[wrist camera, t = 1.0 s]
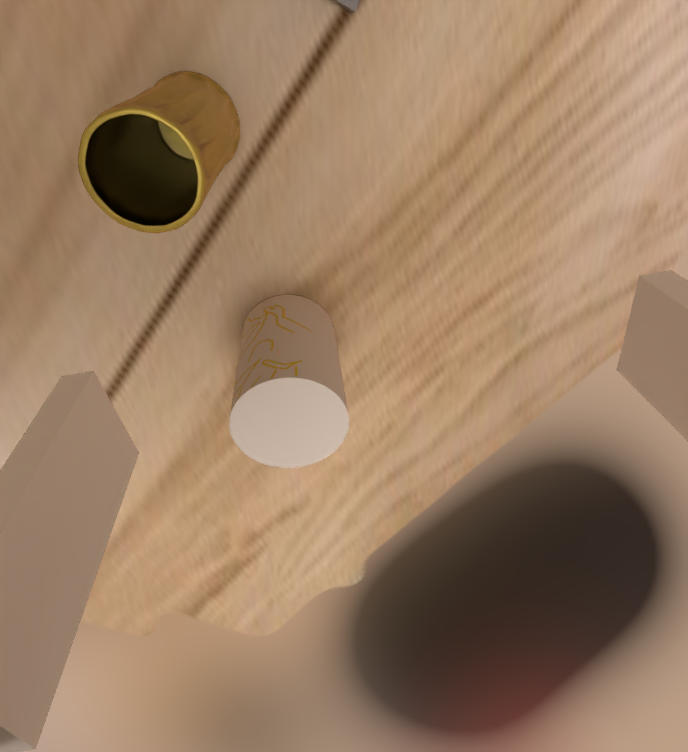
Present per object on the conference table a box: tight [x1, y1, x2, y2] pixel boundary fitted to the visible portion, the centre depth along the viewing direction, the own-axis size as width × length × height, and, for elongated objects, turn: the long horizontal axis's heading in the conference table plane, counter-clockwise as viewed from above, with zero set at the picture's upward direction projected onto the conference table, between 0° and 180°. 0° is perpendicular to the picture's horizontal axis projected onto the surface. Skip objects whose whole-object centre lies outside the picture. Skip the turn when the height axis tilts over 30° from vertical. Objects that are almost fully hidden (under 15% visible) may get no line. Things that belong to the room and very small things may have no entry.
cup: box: [229, 295, 349, 468], centre depth 38 cm, size 8×8×12 cm
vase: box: [78, 71, 240, 233], centre depth 26 cm, size 6×6×14 cm
